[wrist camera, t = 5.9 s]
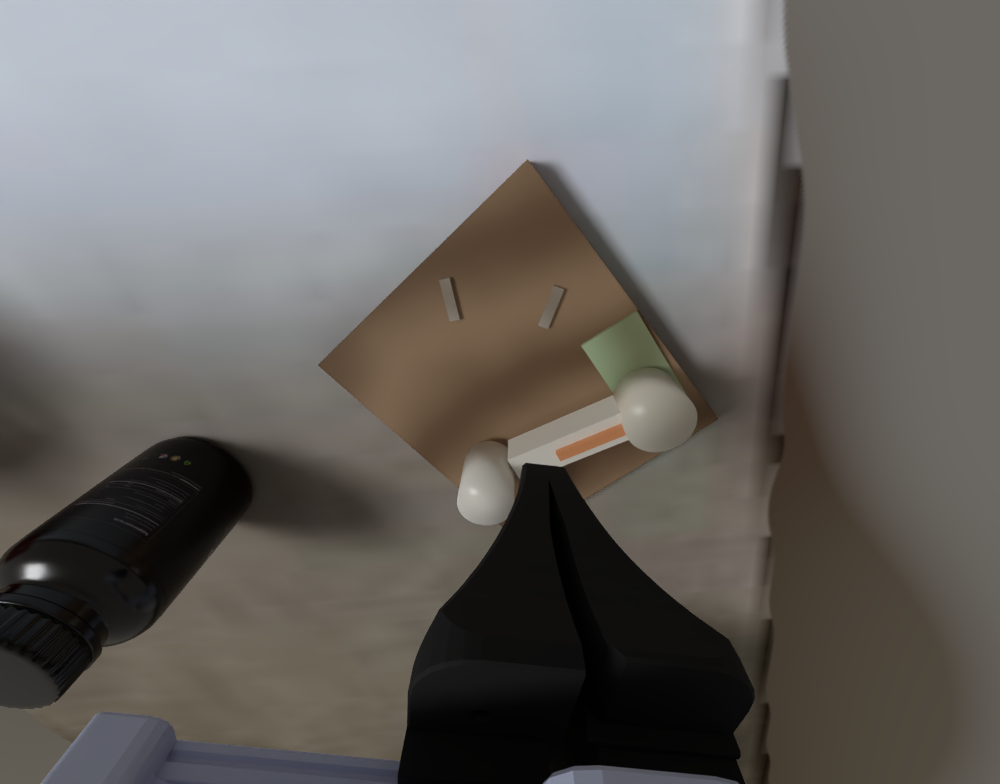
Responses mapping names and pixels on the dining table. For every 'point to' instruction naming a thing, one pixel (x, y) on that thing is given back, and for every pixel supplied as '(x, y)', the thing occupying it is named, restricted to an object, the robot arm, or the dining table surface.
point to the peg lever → (577, 440)
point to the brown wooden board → (504, 338)
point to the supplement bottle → (111, 564)
